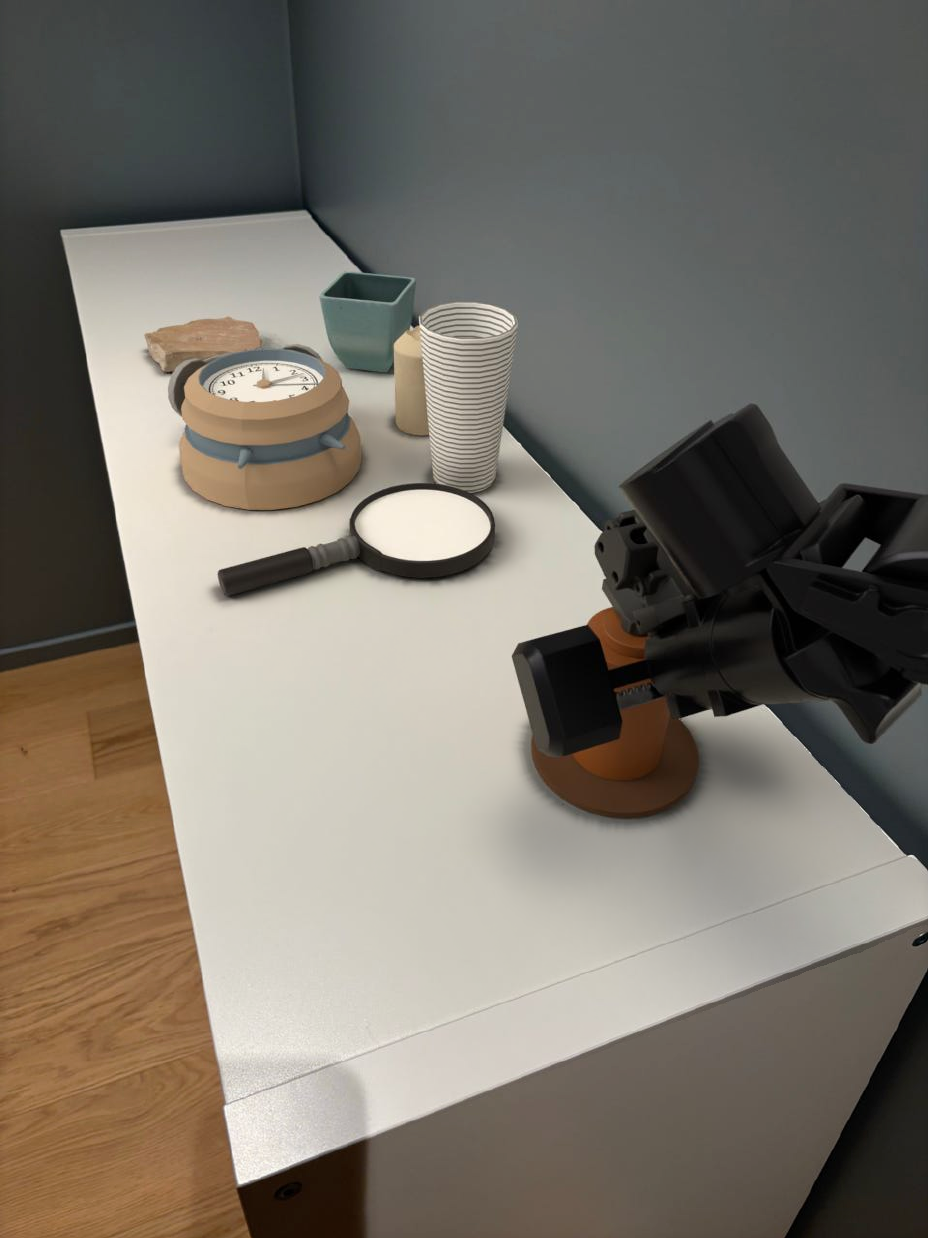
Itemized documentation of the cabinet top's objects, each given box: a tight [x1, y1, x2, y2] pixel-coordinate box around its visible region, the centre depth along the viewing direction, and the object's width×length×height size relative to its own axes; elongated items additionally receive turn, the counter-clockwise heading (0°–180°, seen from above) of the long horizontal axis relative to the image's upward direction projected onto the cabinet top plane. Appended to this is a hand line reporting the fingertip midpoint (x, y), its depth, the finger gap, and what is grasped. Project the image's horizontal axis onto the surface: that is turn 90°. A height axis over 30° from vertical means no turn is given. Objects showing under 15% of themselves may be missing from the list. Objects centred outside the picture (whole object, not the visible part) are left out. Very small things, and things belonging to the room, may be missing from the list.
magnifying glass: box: [217, 482, 496, 597], centre depth 77 cm, size 12×24×2 cm, turn 119°
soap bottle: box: [573, 578, 670, 781], centre depth 58 cm, size 7×6×11 cm
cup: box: [418, 301, 519, 494], centre depth 83 cm, size 8×8×16 cm
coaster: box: [530, 716, 700, 819], centre depth 61 cm, size 11×11×1 cm
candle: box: [393, 325, 429, 436], centre depth 93 cm, size 6×6×10 cm
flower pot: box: [318, 271, 417, 373], centre depth 105 cm, size 9×9×9 cm
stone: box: [143, 316, 263, 373], centre depth 107 cm, size 13×12×3 cm
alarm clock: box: [167, 343, 362, 511], centre depth 89 cm, size 17×9×23 cm
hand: (615, 668), depth 58 cm, fingers open, 9 cm apart
